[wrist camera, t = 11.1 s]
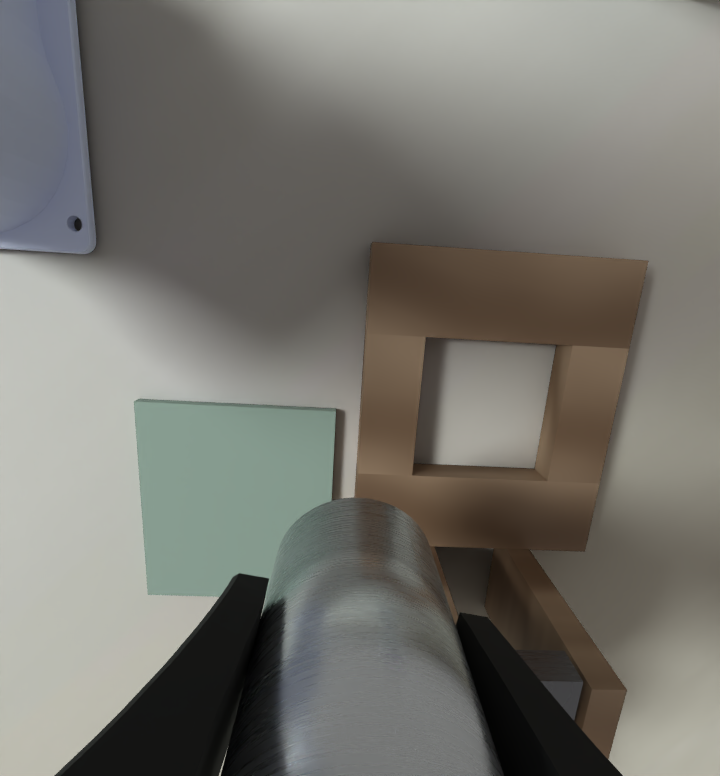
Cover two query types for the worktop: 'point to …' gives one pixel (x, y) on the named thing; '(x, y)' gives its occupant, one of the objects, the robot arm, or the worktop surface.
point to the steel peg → (358, 658)
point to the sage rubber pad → (225, 487)
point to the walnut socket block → (557, 440)
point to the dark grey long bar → (556, 676)
